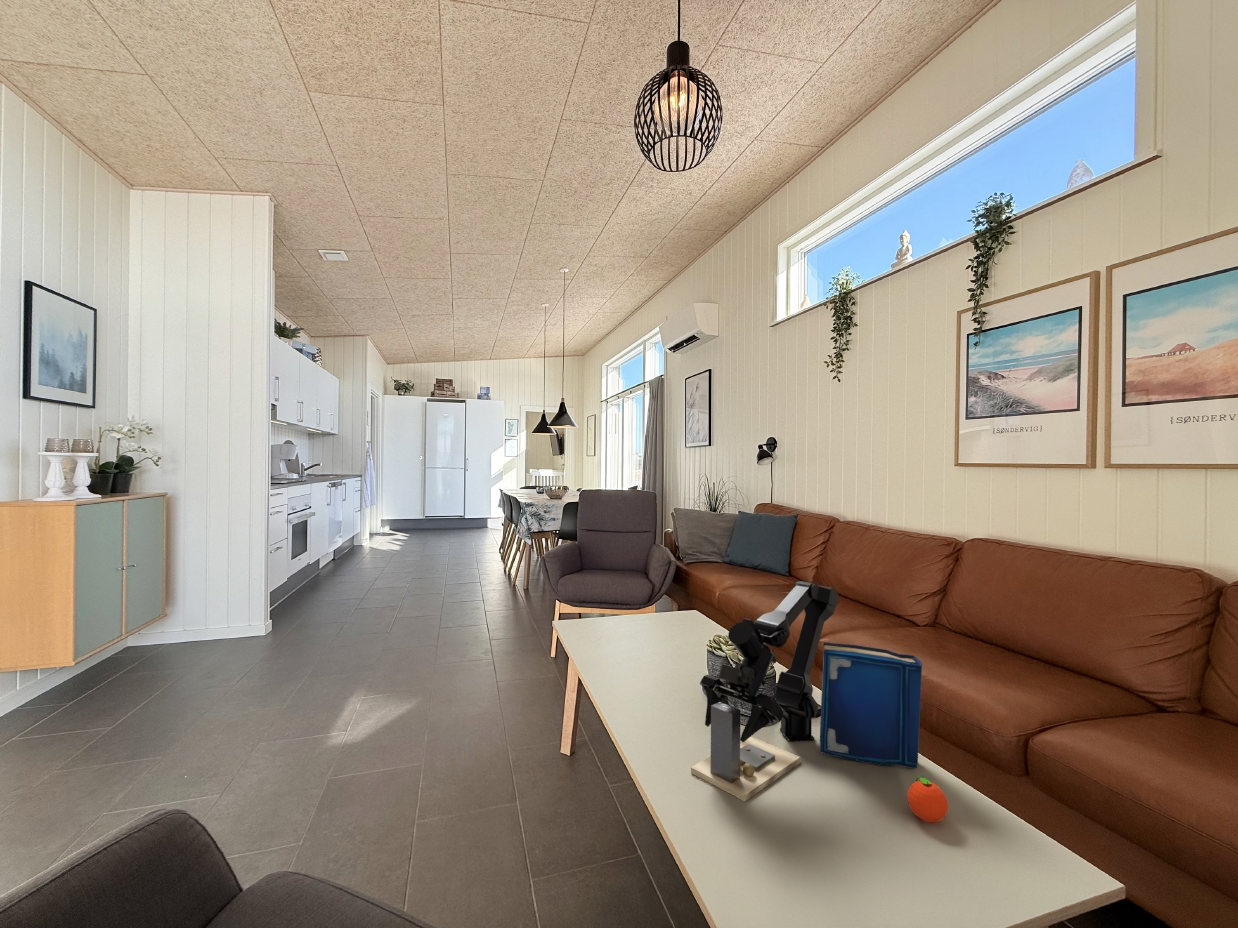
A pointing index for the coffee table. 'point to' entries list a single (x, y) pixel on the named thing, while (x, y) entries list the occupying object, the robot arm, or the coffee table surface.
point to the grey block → (725, 742)
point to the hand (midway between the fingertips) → (723, 733)
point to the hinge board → (758, 776)
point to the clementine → (927, 801)
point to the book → (870, 705)
